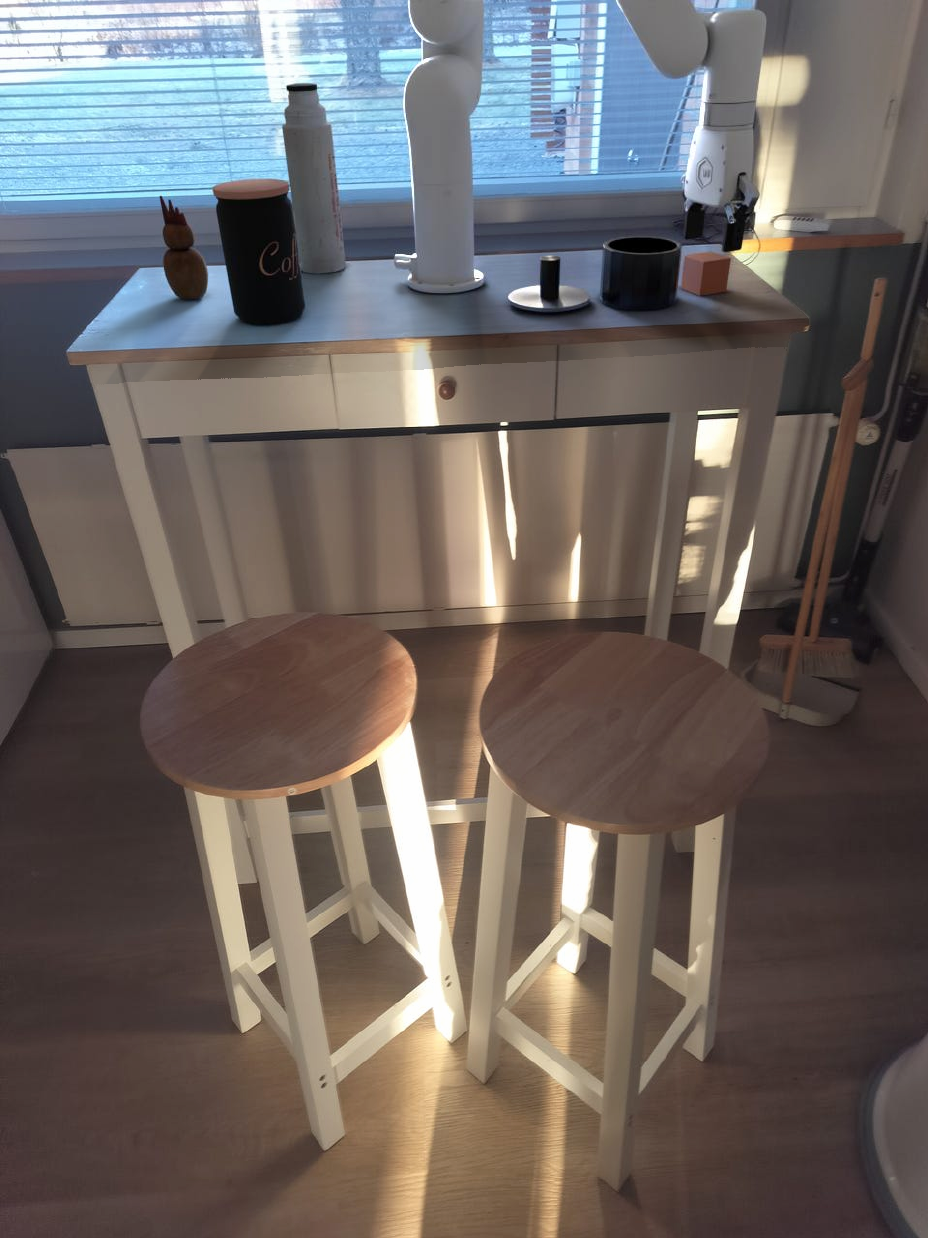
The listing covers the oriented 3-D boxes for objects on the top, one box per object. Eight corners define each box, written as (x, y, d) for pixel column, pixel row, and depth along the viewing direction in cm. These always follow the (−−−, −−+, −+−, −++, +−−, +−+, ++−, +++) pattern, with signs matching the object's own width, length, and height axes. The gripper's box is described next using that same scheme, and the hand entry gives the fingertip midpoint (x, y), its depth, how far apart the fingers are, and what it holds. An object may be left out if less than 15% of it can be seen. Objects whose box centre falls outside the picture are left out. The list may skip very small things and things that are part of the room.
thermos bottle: (351, 262, 157) (333, 80, 141) (337, 274, 151) (317, 84, 134) (309, 261, 158) (287, 81, 142) (294, 272, 152) (268, 85, 136)
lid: (498, 312, 130) (498, 265, 126) (520, 290, 139) (521, 246, 136) (580, 318, 127) (582, 270, 123) (597, 295, 136) (600, 250, 132)
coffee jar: (273, 330, 126) (252, 194, 115) (220, 320, 130) (195, 188, 120) (320, 311, 133) (305, 181, 122) (268, 302, 138) (249, 176, 127)
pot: (593, 308, 131) (596, 252, 126) (608, 287, 139) (611, 234, 135) (669, 313, 127) (676, 256, 123) (680, 292, 136) (686, 237, 132)
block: (699, 295, 134) (703, 261, 131) (680, 288, 138) (684, 254, 135) (726, 291, 136) (731, 257, 133) (706, 283, 140) (711, 250, 137)
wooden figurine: (164, 297, 141) (141, 196, 133) (194, 289, 145) (174, 190, 136) (187, 304, 138) (165, 201, 129) (218, 296, 141) (199, 195, 132)
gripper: (669, 113, 128) (658, 236, 138) (743, 123, 115) (726, 259, 125) (711, 108, 131) (698, 230, 141) (789, 118, 118) (768, 252, 128)
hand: (711, 244), depth 133 cm, fingers open, 9 cm apart
